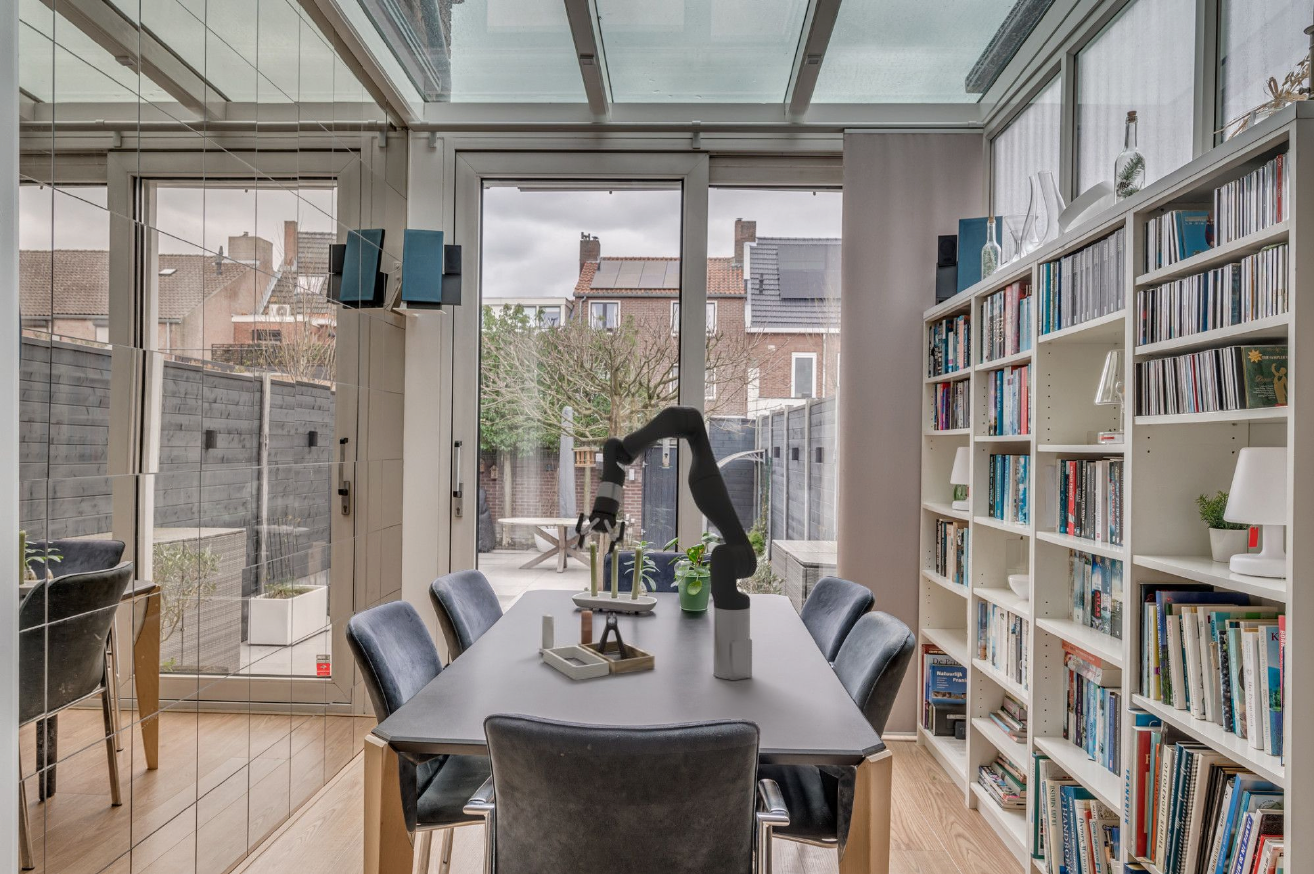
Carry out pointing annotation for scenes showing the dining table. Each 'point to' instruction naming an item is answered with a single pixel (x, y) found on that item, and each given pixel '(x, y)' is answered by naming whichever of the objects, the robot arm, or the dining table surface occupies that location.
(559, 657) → the white frame
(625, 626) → the dining table surface
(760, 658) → the dining table surface
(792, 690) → the dining table surface
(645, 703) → the dining table surface
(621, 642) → the dark metal pliers
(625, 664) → the oak frame
